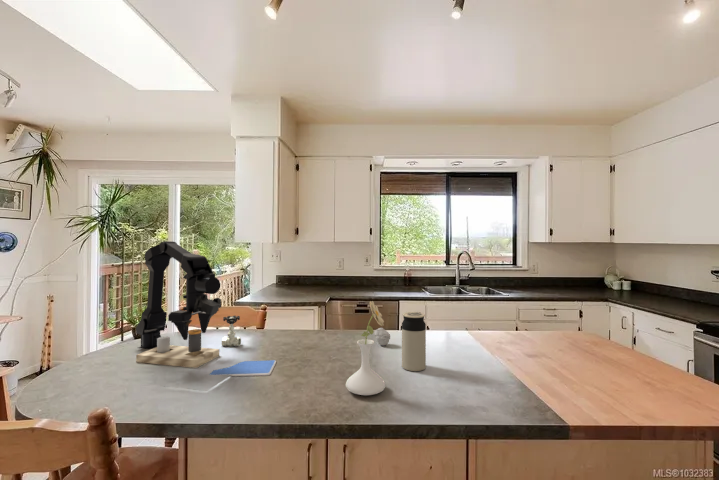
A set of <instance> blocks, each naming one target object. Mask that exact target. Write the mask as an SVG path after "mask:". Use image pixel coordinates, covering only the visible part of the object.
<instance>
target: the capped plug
mask: <svg viewBox="0 0 719 480" xmlns="http://www.w3.org/2000/svg"><path fill="white" fill-rule="evenodd" d="M187 343H188V346H187V347H188V351H189V352H197V351H200V350H201V348H202V330H201V328H198V329H197V328H193V329H190V330H189V329H188V342H187Z"/></svg>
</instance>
